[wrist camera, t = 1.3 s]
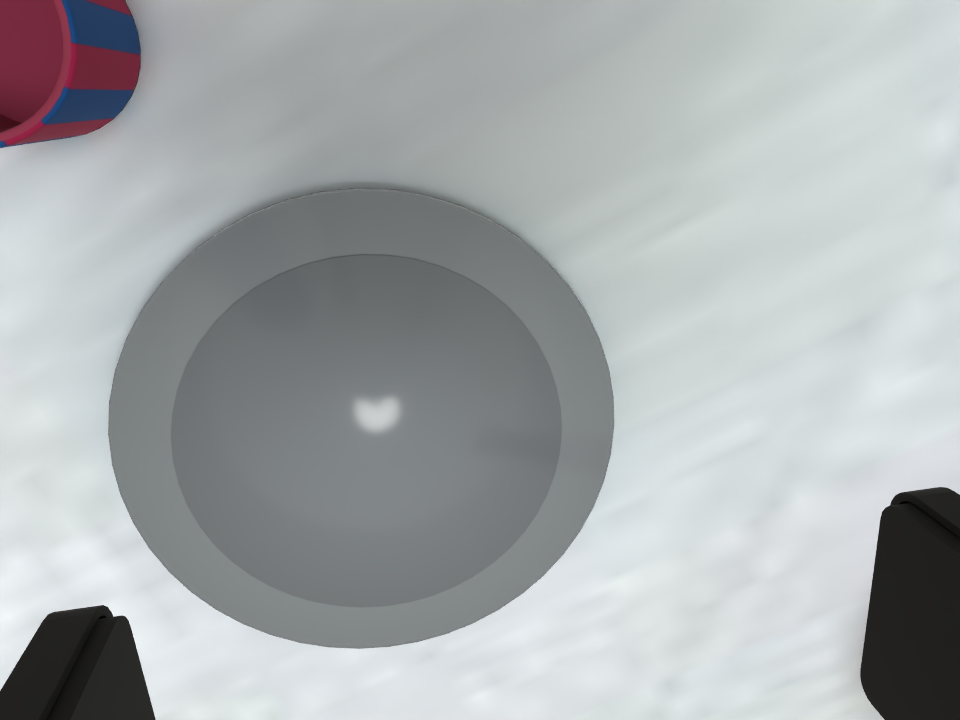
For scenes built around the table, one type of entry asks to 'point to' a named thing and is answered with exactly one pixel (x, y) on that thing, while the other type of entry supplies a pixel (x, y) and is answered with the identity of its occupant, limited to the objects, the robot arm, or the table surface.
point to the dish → (361, 418)
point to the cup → (64, 67)
